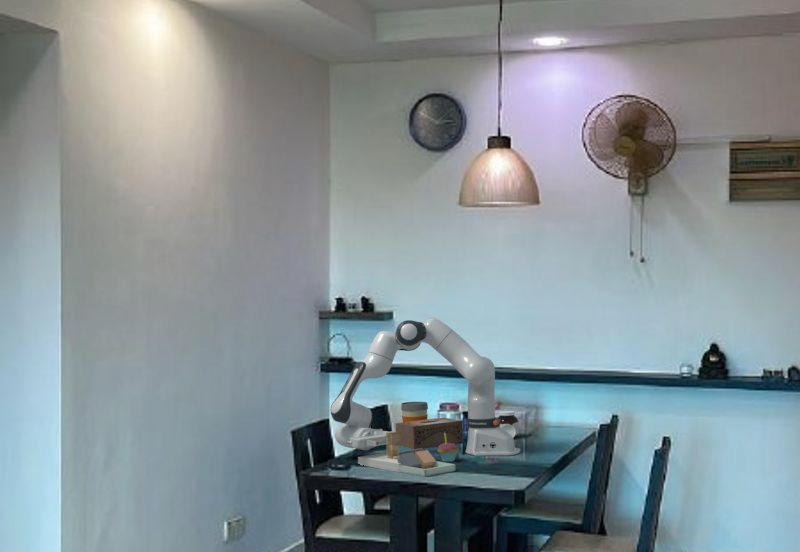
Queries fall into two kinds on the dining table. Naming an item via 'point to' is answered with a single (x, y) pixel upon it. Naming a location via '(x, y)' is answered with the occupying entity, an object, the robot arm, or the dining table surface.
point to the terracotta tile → (425, 459)
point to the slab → (379, 462)
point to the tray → (429, 469)
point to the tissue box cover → (429, 432)
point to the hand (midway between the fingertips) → (386, 442)
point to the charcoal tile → (409, 460)
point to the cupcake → (448, 451)
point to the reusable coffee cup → (414, 411)
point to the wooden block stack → (395, 446)
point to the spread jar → (509, 422)
